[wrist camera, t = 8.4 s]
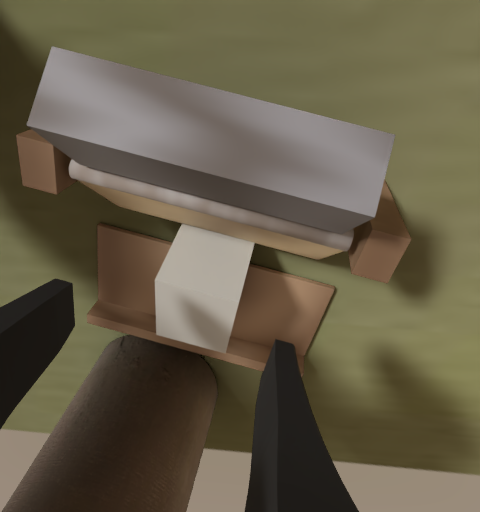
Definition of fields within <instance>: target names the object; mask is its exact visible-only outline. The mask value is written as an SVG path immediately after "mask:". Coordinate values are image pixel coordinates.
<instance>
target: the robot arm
mask: <svg viewBox="0 0 480 512" xmlns="http://www.w3.org/2000/svg"><path fill="white" fill-rule="evenodd" d="M74 326H75V318H74V302H73V285H72V283H70V282H66V281H63V280H59V279H54V280H52V281H50V282H48V283H46V284H44V285H42V286H40V287H38V288H36V289H35V290H33V291H31V292H29V293H27V294H25V295H23V296H21V297H20V298H18V299H16V300H14V301H12V302H10V303H8V304H6V305H4V306H2V307H0V429H1V428H2V426H3V424H4V423H5V421H6V420H7V418H8V417H9V416H10V414H11V413H12V411H13V410H14V409H15V407H16V406H17V405H18V403H19V402H20V401H21V400H22V398H23V397H24V396H25V395H26V393H27V392H28V391H29V389H30V388H31V387H32V386H33V384H34V383H35V382H36V381H37V379H38V378H39V377H40V376H41V374H42V373H43V372H44V371H45V369H46V368H47V367H48V365H49V364H50V363H51V362H52V360H53V359H54V358H55V356H56V355H57V354H58V352H59V351H60V350H61V348H62V346H63V345H64V343H65V342H66V340H67V338H68V337H69V335H70V333H71V331H72V330H73V328H74ZM245 512H359V511H358V510H357V508H356V506H355V504H354V502H353V501H352V499H351V497H350V495H349V493H348V491H347V489H346V488H345V486H344V484H343V482H342V480H341V478H340V476H339V474H338V472H337V470H336V468H335V466H334V464H333V462H332V459H331V457H330V455H329V453H328V451H327V448H326V446H325V444H324V441H323V439H322V436H321V434H320V432H319V429H318V426H317V424H316V421H315V418H314V416H313V413H312V410H311V407H310V404H309V401H308V397H307V394H306V391H305V388H304V384H303V381H302V377H301V373H300V369H299V365H298V361H297V356H296V350H295V346H294V345H293V344H292V343H288V342H285V341H281V340H278V339H275V341H274V344H273V347H272V349H271V352H270V355H269V357H268V360H267V363H266V365H265V368H264V371H263V373H262V376H261V380H260V386H259V391H258V396H257V402H256V409H255V421H254V434H253V447H252V460H251V473H250V481H249V489H248V495H247V501H246V507H245Z"/></svg>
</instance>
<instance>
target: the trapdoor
mask: <svg viewBox="0 0 480 512" xmlns="http://www.w3.org/2000/svg"><path fill="white" fill-rule="evenodd" d="M27 126H28V127H29V128H31V129H32V130H33V131H35V132H36V133H37V134H39V135H40V136H41V137H43V138H44V139H45V140H47V141H48V142H50V143H51V144H52V145H54V146H55V147H56V148H58V149H59V150H60V151H62V152H63V153H64V154H66V155H67V156H69V157H70V158H71V159H72V160H71V162H70V165H69V175H70V177H71V178H73V179H76V180H78V181H79V182H81V183H83V184H84V185H86V186H87V187H89V188H90V189H92V190H94V191H95V192H97V193H98V194H100V195H102V196H103V197H105V198H106V199H108V200H109V201H111V202H113V203H114V204H116V205H117V206H119V207H122V208H126V209H130V210H134V211H137V212H141V213H145V214H149V215H152V216H156V217H160V218H164V219H167V220H171V221H175V222H178V223H182V224H186V225H190V226H193V227H197V228H201V229H205V230H208V231H212V232H216V233H220V234H224V235H227V236H231V237H235V238H239V239H243V240H246V241H250V242H254V243H257V244H260V245H264V246H268V247H272V248H275V249H279V250H283V251H287V252H290V253H294V254H298V255H301V256H305V257H309V258H313V259H316V260H319V259H322V258H325V257H328V256H331V255H334V254H337V253H340V252H343V251H346V252H347V251H348V250H349V248H350V246H351V243H352V240H353V236H354V229H353V228H355V227H357V226H359V225H361V224H363V223H365V222H367V221H369V220H371V219H373V218H375V215H376V211H377V207H378V203H379V199H380V195H381V191H382V187H383V183H384V179H385V175H386V171H387V167H388V163H389V158H390V154H391V150H392V146H393V142H394V138H395V135H394V134H390V133H386V132H382V131H379V130H375V129H371V128H367V127H363V126H359V125H355V124H351V123H348V122H344V121H340V120H336V119H332V118H328V117H324V116H320V115H317V114H313V113H309V112H305V111H301V110H297V109H293V108H289V107H286V106H282V105H278V104H274V103H270V102H266V101H262V100H258V99H254V98H251V97H247V96H243V95H239V94H235V93H231V92H227V91H223V90H220V89H216V88H212V87H208V86H204V85H200V84H196V83H192V82H189V81H185V80H181V79H177V78H173V77H169V76H165V75H161V74H158V73H154V72H150V71H146V70H142V69H138V68H134V67H130V66H126V65H123V64H119V63H115V62H111V61H107V60H103V59H99V58H95V57H92V56H88V55H84V54H80V53H76V52H72V51H68V50H64V49H61V48H57V47H53V46H52V48H51V51H50V54H49V57H48V60H47V63H46V66H45V69H44V72H43V75H42V79H41V82H40V85H39V88H38V91H37V94H36V97H35V100H34V103H33V106H32V109H31V113H30V116H29V119H28V122H27Z"/></svg>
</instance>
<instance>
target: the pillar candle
mask: <svg viewBox="0 0 480 512" xmlns="http://www.w3.org/2000/svg"><path fill="white" fill-rule="evenodd" d="M217 397H218V391H217V383H216V380H215V377H214V374H213V372H212V371H211V368H210V367H209V365H208V364H207V363H206V362H205V360H203V359H202V358H201V357H200V356H199V355H198V354H197V353H195V352H191V351H187V350H184V349H180V348H177V347H173V346H169V345H166V344H162V343H159V342H155V341H151V340H148V339H144V338H140V337H137V336H133V335H127V336H123V337H120V338H118V339H116V340H114V341H112V342H111V343H110V344H109V345H108V346H107V347H106V348H105V350H104V351H103V352H102V354H101V355H100V357H99V359H98V360H97V362H96V364H95V365H94V367H93V368H92V370H91V372H90V373H89V375H88V376H87V378H86V379H85V380H84V382H83V384H82V385H81V387H80V388H79V390H78V392H77V393H76V395H75V396H74V398H73V400H72V401H71V403H70V404H69V406H68V407H67V409H66V411H65V412H64V414H63V415H62V417H61V419H60V420H59V422H58V423H57V425H56V427H55V428H54V430H53V431H52V433H51V434H50V436H49V438H48V439H47V441H46V442H45V444H44V445H43V447H42V449H41V450H40V452H39V454H38V455H37V457H36V458H35V460H34V462H33V463H32V465H31V466H30V468H29V469H28V471H27V473H26V474H25V476H24V477H23V479H22V481H21V482H20V484H19V485H18V487H17V489H16V490H15V492H14V493H13V495H12V496H11V498H10V500H9V501H8V503H7V504H6V506H5V507H4V509H3V510H2V512H186V510H187V507H188V503H189V499H190V495H191V492H192V489H193V484H194V481H195V477H196V474H197V470H198V467H199V463H200V459H201V456H202V453H203V449H204V445H205V441H206V438H207V434H208V430H209V427H210V423H211V420H212V416H213V411H214V409H215V404H216V401H217Z"/></svg>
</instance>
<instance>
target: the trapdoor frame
mask: <svg viewBox="0 0 480 512" xmlns="http://www.w3.org/2000/svg"><path fill="white" fill-rule="evenodd" d="M16 139H17V146H18V154H19V161H20V169H21V176H22V184H23V186H27V187H30V188H34V189H38V190H41V191H45V192H49V193H53V194H56V195H57V194H59V193H60V192H61V191H63V190H64V189H66V188H67V187H69V186H70V185H72V184H73V183H75V182H76V181H78V180H76V179H73V178H71V177H70V175H69V165H70V162H71V160H72V159H71V158H70V157H69V156H67V155H66V154H64V153H63V152H62V151H60V150H59V149H58V148H56V147H55V146H54V145H52V144H51V143H50V142H48V141H47V140H45V139H44V138H43V137H41V136H40V135H39V134H37V133H36V132H35V131H33V130H32V129H30V130H27V131H25V132H22V133H20V134H17V135H16ZM353 229H354V236H353V240H352V243H351V246H350V248H349V250H348V254H349V260H350V267H351V274H354V275H358V276H362V277H365V278H369V279H373V280H377V281H380V282H384V283H388V281H389V279H390V278H391V276H392V274H393V272H394V270H395V269H396V267H397V265H398V263H399V261H400V259H401V258H402V256H403V254H404V252H405V250H406V249H407V247H408V245H409V243H410V241H411V238H410V235H409V233H408V231H407V229H406V226H405V224H404V222H403V220H402V217H401V215H400V213H399V211H398V208H397V206H396V204H395V202H394V200H393V197H392V195H391V193H390V191H389V188H388V186H387V184H386V182H385V179H384V183H383V187H382V191H381V195H380V199H379V203H378V207H377V211H376V215H375V218H373V219H371V220H369V221H367V222H365V223H363V224H361V225H359V226H357V227H355V228H353ZM97 239H98V301H97V302H96V303H95V305H94V306H93V307H92V308H91V310H90V311H89V312H88V314H87V323H90V324H94V325H97V326H101V327H104V328H108V329H112V330H115V331H119V332H122V333H126V334H130V335H133V336H137V337H140V338H144V339H148V340H151V341H155V342H159V343H162V344H166V345H169V346H173V347H177V348H180V349H184V350H187V351H191V352H195V353H198V354H202V355H205V356H209V357H213V358H216V359H220V360H223V361H227V362H231V363H234V364H238V365H241V366H245V367H249V368H252V369H256V370H260V371H264V368H265V365H266V363H267V360H268V357H269V355H270V352H271V349H272V347H273V344H274V341H275V339H278V340H281V341H285V342H288V343H292V344H293V345H294V346H295V350H296V356H297V361H298V365H299V369H300V373H301V377H303V374H304V356H305V353H306V351H307V349H308V347H309V345H310V342H311V340H312V338H313V336H314V334H315V331H316V329H317V327H318V325H319V323H320V320H321V318H322V316H323V314H324V312H325V309H326V307H327V305H328V303H329V301H330V298H331V296H332V294H333V292H334V290H335V287H334V286H332V285H328V284H324V283H320V282H317V281H313V280H309V279H306V278H302V277H298V276H295V275H291V274H287V273H283V272H280V271H276V270H272V269H269V268H265V267H261V266H257V265H254V264H250V263H249V266H248V270H247V274H246V278H245V282H244V285H243V289H242V293H241V297H240V301H239V304H238V308H237V312H236V316H235V319H234V323H233V327H232V331H231V335H230V338H229V342H228V346H227V350H226V353H221V352H218V351H214V350H210V349H207V348H203V347H199V346H196V345H192V344H188V343H185V342H181V341H177V340H174V339H170V338H166V337H163V336H159V335H156V307H155V279H156V276H157V274H158V272H159V270H160V268H161V266H162V264H163V262H164V260H165V258H166V256H167V254H168V252H169V249H170V247H171V245H172V242H168V241H165V240H161V239H157V238H154V237H150V236H146V235H143V234H139V233H135V232H131V231H128V230H124V229H120V228H117V227H113V226H109V225H105V224H102V223H99V224H98V225H97Z"/></svg>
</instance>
